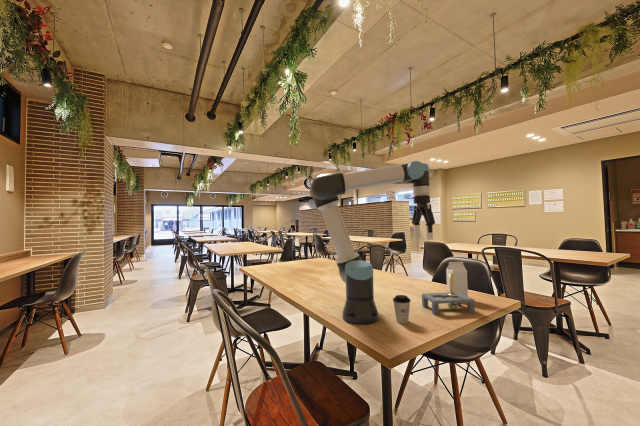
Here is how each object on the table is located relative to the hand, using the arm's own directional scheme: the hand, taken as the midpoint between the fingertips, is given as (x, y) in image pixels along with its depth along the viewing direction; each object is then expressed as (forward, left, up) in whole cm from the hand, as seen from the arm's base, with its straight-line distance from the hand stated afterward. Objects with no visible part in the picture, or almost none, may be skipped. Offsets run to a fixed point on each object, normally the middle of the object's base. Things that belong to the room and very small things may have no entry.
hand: (423, 238), depth 132 cm
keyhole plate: (+6, -9, -32) cm, 33 cm away
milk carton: (+19, +5, -32) cm, 37 cm away
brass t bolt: (+9, -9, -31) cm, 33 cm away
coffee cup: (-19, -20, -32) cm, 42 cm away
